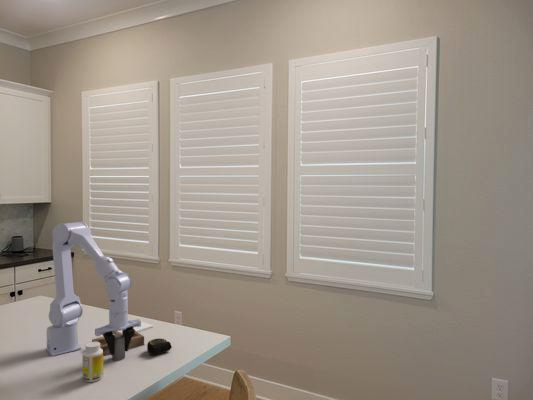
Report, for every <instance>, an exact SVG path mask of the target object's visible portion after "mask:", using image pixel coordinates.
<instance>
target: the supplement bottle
mask: <svg viewBox="0 0 533 400" xmlns="http://www.w3.org/2000/svg"><path fill="white" fill-rule="evenodd" d="M84 349H85V350H84V351H83V352H82V380H83V381H84V382H86V383H94V382H99V381H100V380H101V379H102V378H103V377H104V356H103V350H102V349H101V348H100V343H99V342H92V341H91V342H88V343H86V344H85V348H84Z"/></svg>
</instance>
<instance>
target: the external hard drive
mask: <svg viewBox="0 0 533 400" xmlns="http://www.w3.org/2000/svg"><path fill="white" fill-rule="evenodd" d="M140 321H141V326H140V327H133V329H135V331H137V332H139V333H142V332H144V331H147V330H151V329H153V328H154V327H153V325H152V324H150V323H147V322H144V321H143V320H140ZM141 331H142V332H141ZM117 333H122V330H120V331H115V333H114V334H117Z"/></svg>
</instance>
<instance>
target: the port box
mask: <svg viewBox="0 0 533 400" xmlns="http://www.w3.org/2000/svg"><path fill="white" fill-rule="evenodd" d="M113 335H114V336H116V335H123V332H122V333H113ZM91 339H92V338H91ZM91 342H99V343H100V348H101V349H102V350H103V357H104V356H107V355H111V354H110V353H109V348H108V345H107V342H106V340H105V338H104V337H103V336H101V337H100V336H99V337H96V338H93V339H92V340H91ZM144 345H145V336H144V335H143V334H141V332H139V333H138V332H137V331H135V333H134V334H133V336H132V338H131V341H130V344H129V347H128V350H130V349H134V348H137V347H142V346H144Z"/></svg>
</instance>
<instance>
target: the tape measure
mask: <svg viewBox="0 0 533 400" xmlns="http://www.w3.org/2000/svg"><path fill="white" fill-rule="evenodd" d="M171 349H172V343H171V342H170V341H167V340H166V339H165V338H154V339H153V338H152V339H151V340H149V341H148V342H147V352H148V354H151V355H153V356H154V355H155V356H156V355H160V354H163V353H165V352H168V351H170V350H171Z"/></svg>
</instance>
